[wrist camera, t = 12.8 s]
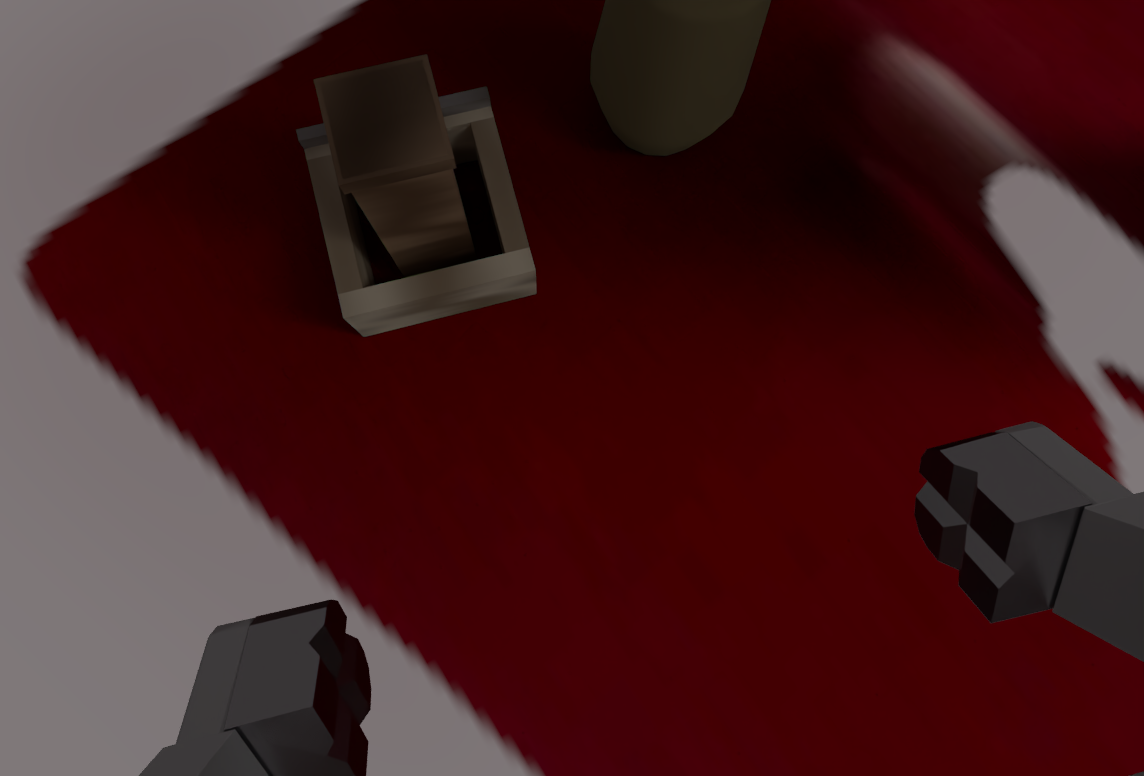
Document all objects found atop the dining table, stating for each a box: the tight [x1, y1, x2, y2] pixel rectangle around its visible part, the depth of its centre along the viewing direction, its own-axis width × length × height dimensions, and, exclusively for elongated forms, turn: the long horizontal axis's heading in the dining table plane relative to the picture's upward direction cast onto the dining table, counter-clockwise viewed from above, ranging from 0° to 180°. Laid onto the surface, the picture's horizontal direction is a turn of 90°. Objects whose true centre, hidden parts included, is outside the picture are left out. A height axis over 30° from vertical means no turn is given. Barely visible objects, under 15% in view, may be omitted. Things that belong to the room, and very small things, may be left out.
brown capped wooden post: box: [314, 54, 477, 277], centre depth 33 cm, size 4×4×12 cm
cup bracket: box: [296, 86, 536, 337], centre depth 37 cm, size 9×9×5 cm
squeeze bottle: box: [590, 0, 771, 156], centre depth 32 cm, size 8×8×18 cm
